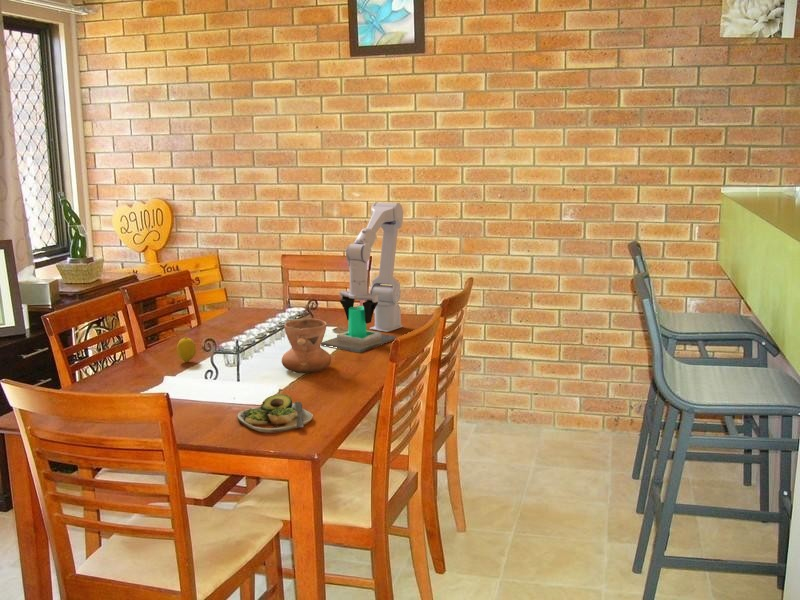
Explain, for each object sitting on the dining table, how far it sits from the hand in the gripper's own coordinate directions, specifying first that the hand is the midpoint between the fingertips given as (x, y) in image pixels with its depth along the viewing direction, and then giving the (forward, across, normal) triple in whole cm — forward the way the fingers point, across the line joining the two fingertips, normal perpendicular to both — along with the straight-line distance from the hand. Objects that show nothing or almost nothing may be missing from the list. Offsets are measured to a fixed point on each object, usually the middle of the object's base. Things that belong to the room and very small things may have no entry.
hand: (359, 321), depth 280 cm
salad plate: (+8, +28, -70) cm, 76 cm away
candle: (+6, -1, 0) cm, 6 cm away
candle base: (+7, 0, 0) cm, 7 cm away
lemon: (+7, -29, -48) cm, 57 cm away
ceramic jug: (+7, +6, -33) cm, 34 cm away
